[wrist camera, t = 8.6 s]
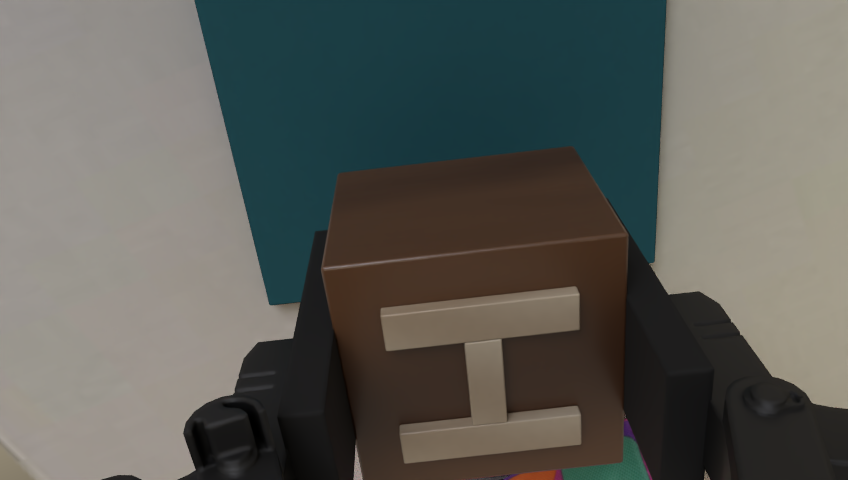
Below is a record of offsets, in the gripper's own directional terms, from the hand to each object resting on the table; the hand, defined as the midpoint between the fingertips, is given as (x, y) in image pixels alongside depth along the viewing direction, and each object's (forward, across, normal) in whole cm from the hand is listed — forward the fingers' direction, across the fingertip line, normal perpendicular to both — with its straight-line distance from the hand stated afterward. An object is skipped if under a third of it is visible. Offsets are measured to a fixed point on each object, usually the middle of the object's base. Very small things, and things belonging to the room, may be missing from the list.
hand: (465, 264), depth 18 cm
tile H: (0, 0, 0) cm, 0 cm away
